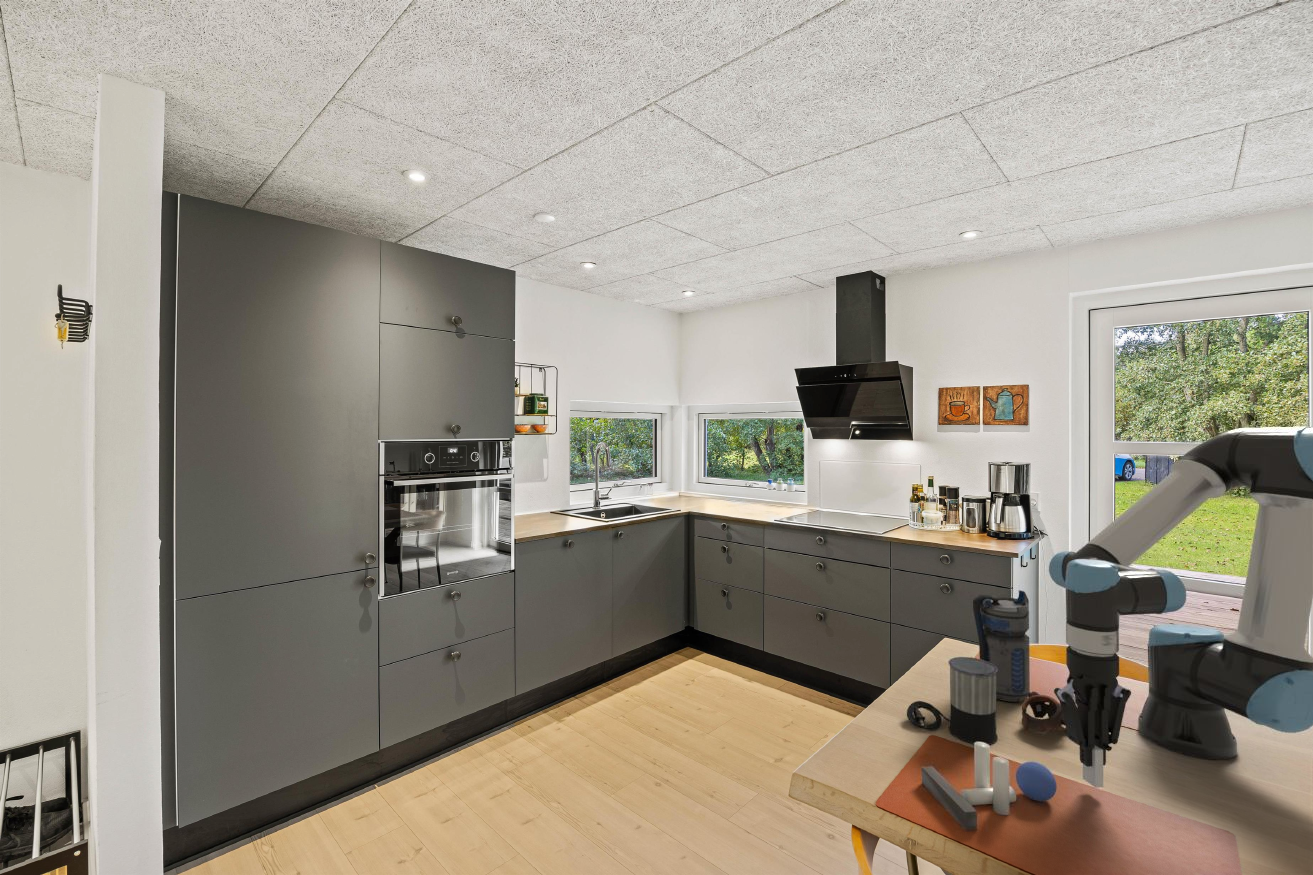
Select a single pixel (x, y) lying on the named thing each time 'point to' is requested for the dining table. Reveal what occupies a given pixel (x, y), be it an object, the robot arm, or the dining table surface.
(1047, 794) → the ball
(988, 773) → the pin
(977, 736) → the milk frother
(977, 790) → the front pin
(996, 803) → the pin
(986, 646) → the beverage bottle
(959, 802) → the back wall
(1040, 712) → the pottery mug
